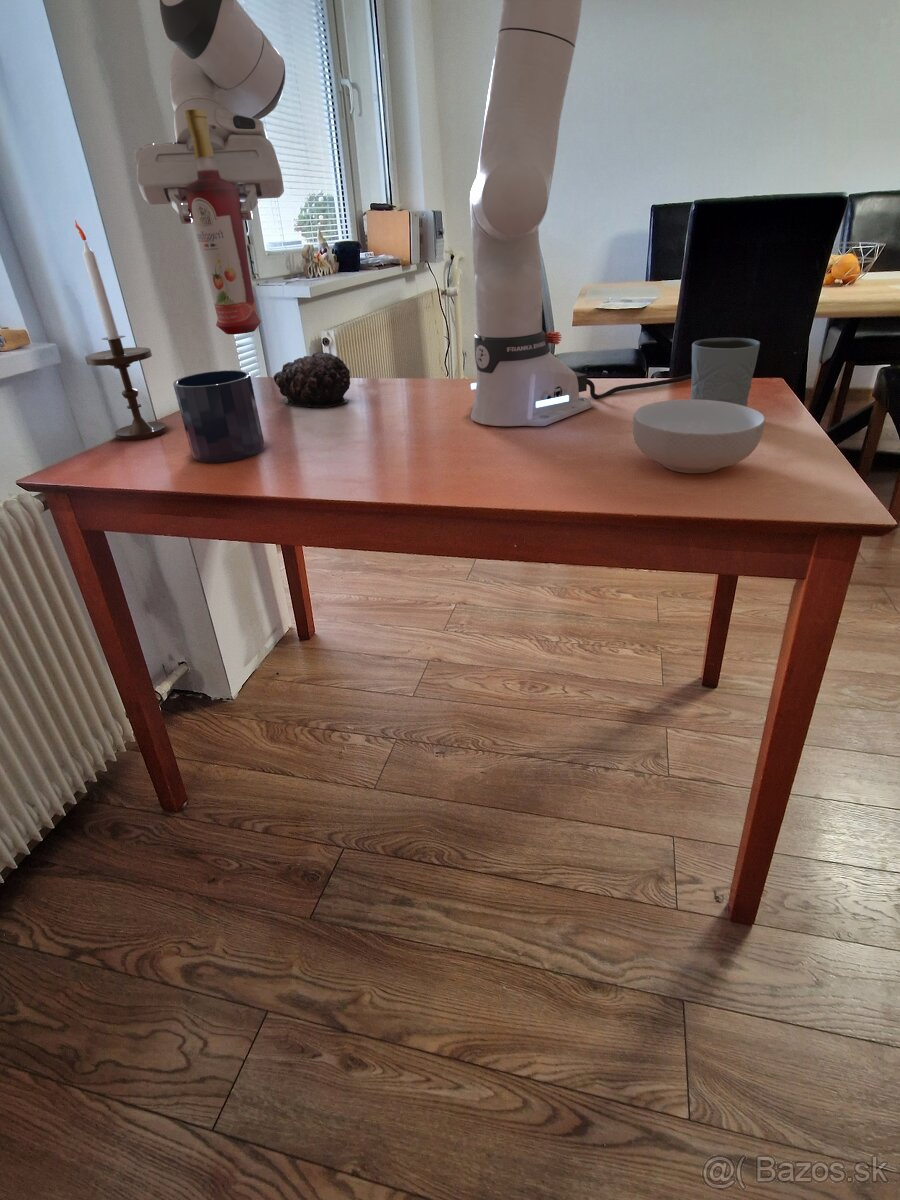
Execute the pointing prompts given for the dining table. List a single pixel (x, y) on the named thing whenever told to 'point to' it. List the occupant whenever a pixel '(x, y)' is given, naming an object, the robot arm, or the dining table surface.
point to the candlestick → (118, 354)
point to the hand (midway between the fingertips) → (216, 218)
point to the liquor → (220, 235)
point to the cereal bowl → (697, 433)
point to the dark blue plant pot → (220, 415)
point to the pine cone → (314, 381)
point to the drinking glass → (723, 369)
